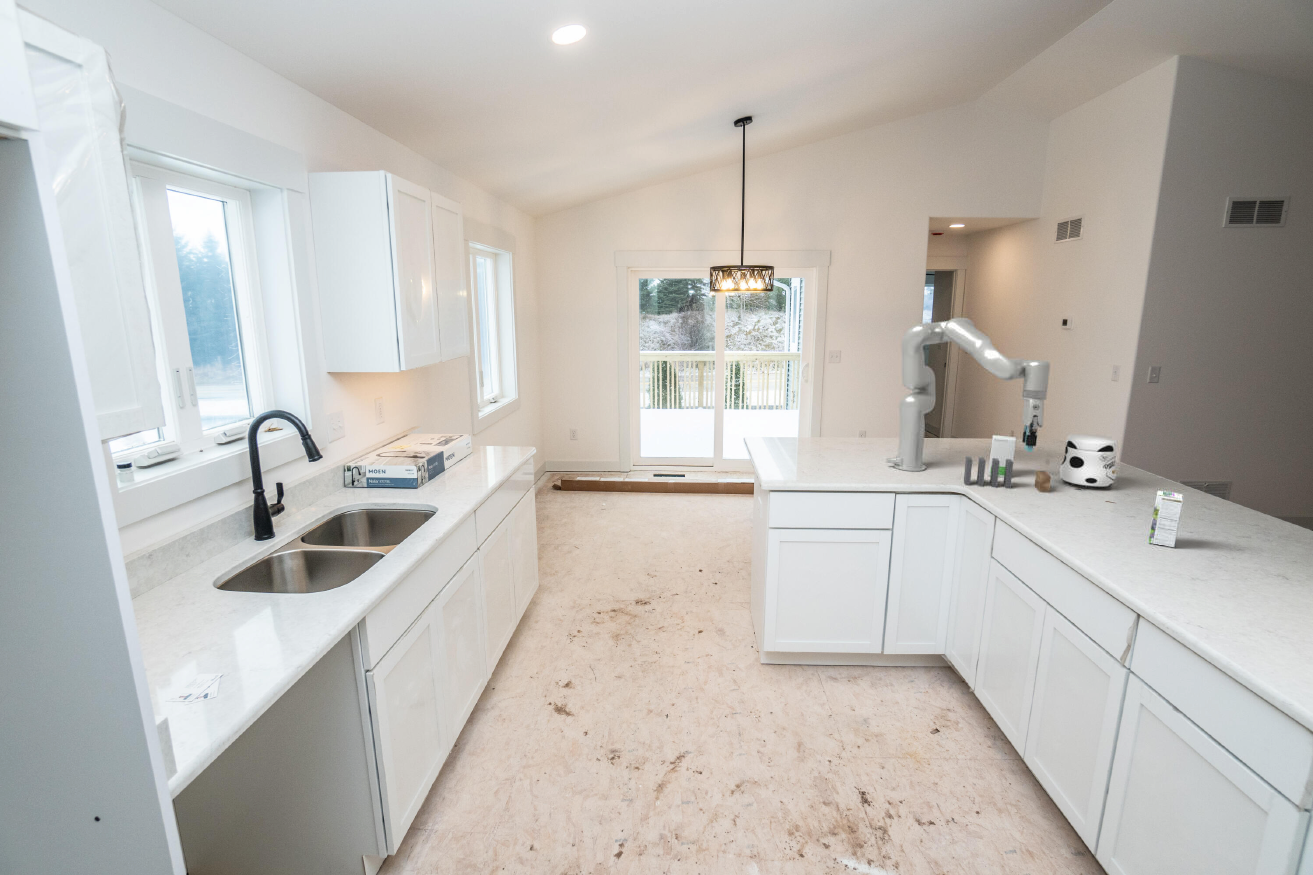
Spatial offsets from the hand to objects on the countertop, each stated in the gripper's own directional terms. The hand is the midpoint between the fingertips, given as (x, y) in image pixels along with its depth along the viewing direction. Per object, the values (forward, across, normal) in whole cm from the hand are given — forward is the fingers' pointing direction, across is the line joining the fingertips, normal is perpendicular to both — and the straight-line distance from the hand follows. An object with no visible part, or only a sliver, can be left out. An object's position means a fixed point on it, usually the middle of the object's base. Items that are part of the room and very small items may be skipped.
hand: (1028, 443), depth 224 cm
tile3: (+17, 0, +10) cm, 20 cm away
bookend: (+17, 0, -6) cm, 18 cm away
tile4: (+17, 0, +6) cm, 18 cm away
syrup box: (+17, -50, -25) cm, 59 cm away
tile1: (+17, 0, +19) cm, 25 cm away
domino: (+3, 0, 0) cm, 3 cm away
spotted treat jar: (+17, +12, -22) cm, 30 cm away
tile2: (+17, 0, +15) cm, 22 cm away
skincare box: (+17, +18, +5) cm, 25 cm away
